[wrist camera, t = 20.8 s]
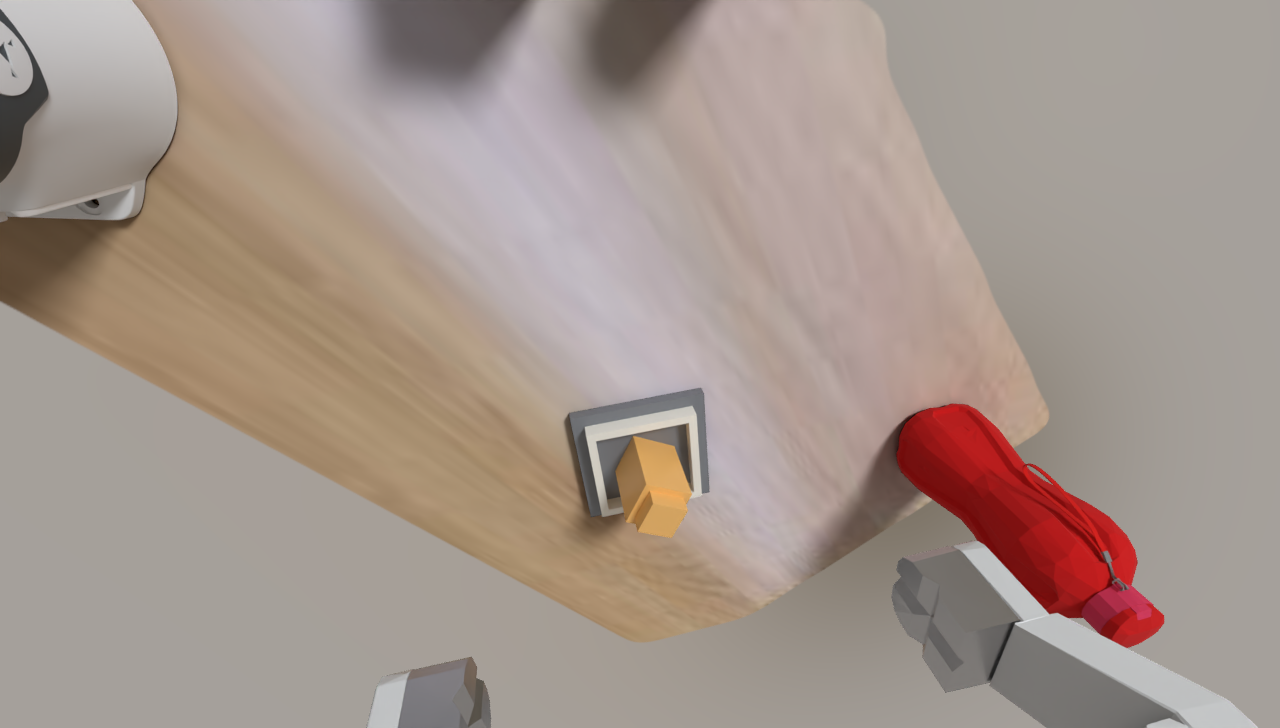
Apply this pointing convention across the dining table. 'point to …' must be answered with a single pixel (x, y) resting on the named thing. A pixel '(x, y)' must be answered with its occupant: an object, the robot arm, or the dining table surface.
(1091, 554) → the water bottle
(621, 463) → the stepped orange block
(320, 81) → the dining table surface
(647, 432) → the base
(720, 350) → the dining table surface
